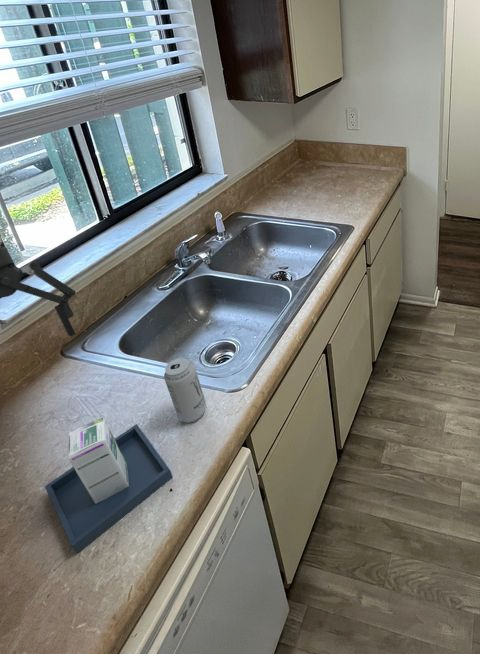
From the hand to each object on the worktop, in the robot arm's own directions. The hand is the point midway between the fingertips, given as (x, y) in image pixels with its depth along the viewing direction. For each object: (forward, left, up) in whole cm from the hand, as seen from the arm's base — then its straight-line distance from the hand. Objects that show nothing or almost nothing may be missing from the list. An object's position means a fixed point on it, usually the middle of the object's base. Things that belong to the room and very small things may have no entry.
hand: (30, 355), depth 83 cm
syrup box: (+16, +1, -25) cm, 30 cm away
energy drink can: (+13, +19, -26) cm, 35 cm away
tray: (+16, +1, -26) cm, 30 cm away
